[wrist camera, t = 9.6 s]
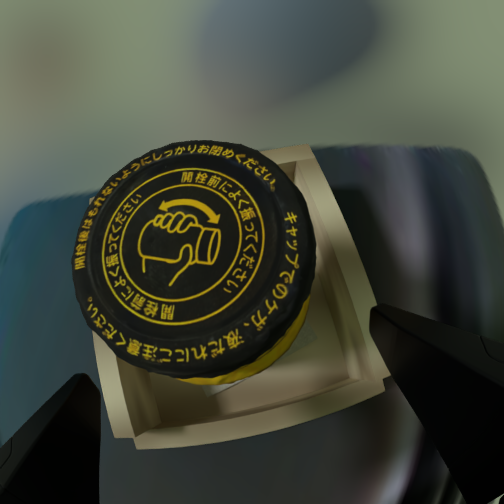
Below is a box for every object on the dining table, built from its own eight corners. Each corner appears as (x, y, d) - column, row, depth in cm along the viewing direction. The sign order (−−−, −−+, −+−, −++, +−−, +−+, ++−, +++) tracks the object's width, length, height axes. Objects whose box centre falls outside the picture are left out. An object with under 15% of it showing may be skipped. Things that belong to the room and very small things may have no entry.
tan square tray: (365, 387, 15) (402, 393, 10) (154, 437, 14) (121, 458, 9) (298, 188, 21) (307, 143, 16) (120, 233, 20) (89, 198, 15)
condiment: (207, 396, 14) (99, 465, 3) (150, 275, 17) (32, 156, 6) (317, 338, 16) (438, 283, 4) (248, 225, 18) (237, 57, 7)
